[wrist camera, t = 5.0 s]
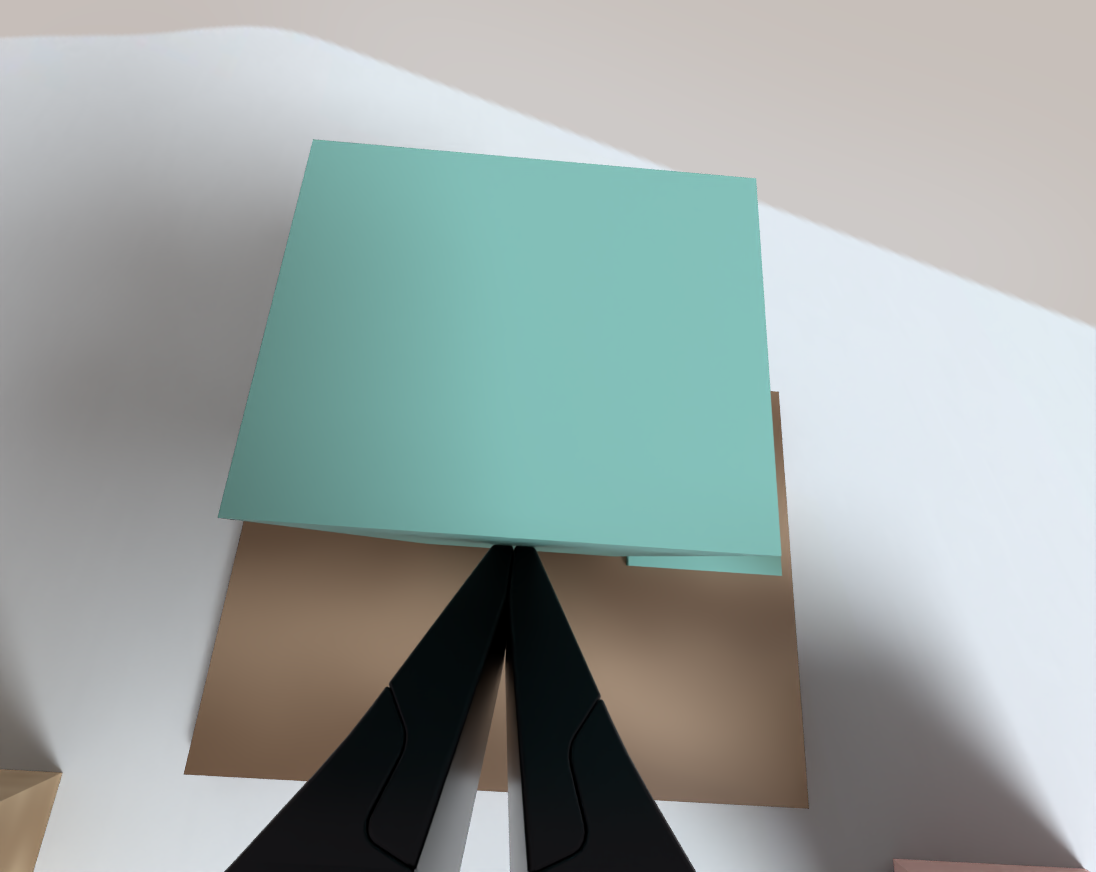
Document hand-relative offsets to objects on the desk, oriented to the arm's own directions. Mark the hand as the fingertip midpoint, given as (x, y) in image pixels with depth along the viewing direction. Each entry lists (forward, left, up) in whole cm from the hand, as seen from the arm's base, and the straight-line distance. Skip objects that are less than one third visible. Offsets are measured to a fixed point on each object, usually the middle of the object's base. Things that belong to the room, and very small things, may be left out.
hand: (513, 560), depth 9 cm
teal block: (+2, -2, -6) cm, 6 cm away
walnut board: (0, 0, -7) cm, 7 cm away
